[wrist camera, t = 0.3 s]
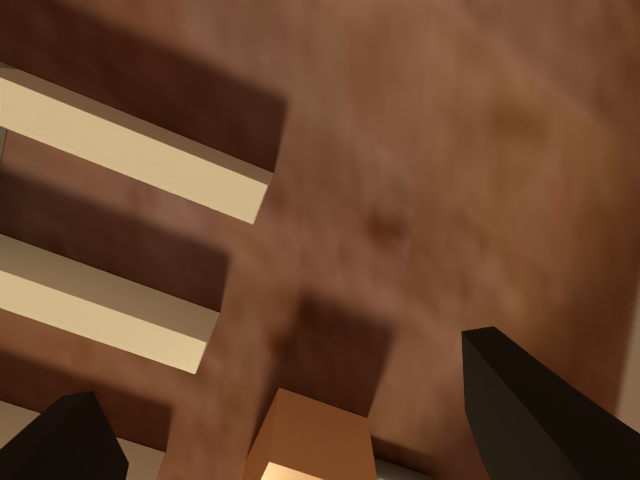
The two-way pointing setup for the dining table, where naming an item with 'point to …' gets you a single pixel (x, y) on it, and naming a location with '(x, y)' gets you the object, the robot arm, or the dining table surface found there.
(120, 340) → the cord comb
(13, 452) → the robot arm
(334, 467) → the tan handled block
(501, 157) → the dining table surface
